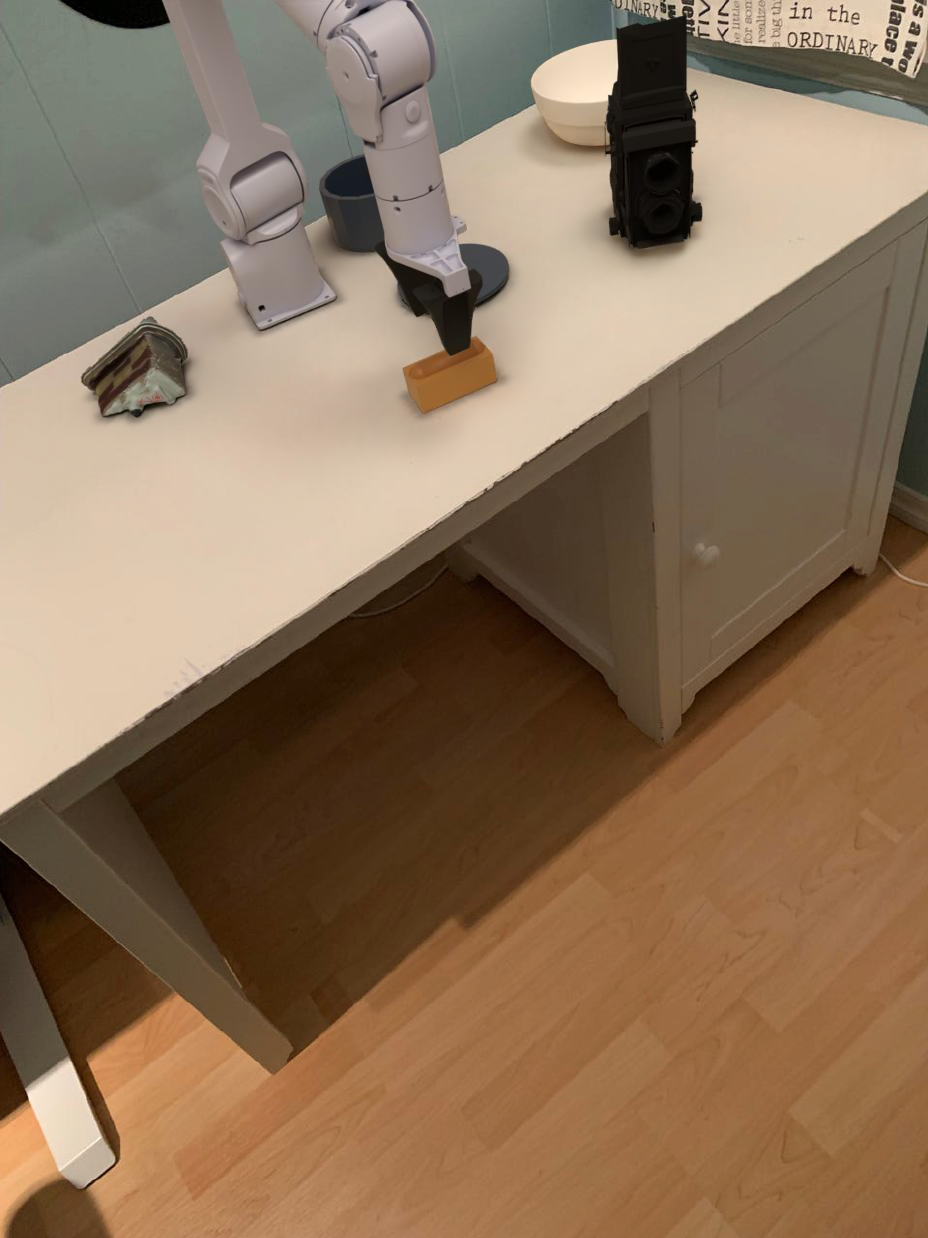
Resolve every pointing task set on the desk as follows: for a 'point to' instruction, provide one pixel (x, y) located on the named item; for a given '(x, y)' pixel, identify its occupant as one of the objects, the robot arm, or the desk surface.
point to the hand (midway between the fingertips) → (441, 330)
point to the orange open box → (449, 375)
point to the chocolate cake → (139, 370)
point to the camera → (652, 136)
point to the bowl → (577, 92)
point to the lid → (483, 267)
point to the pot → (352, 205)
